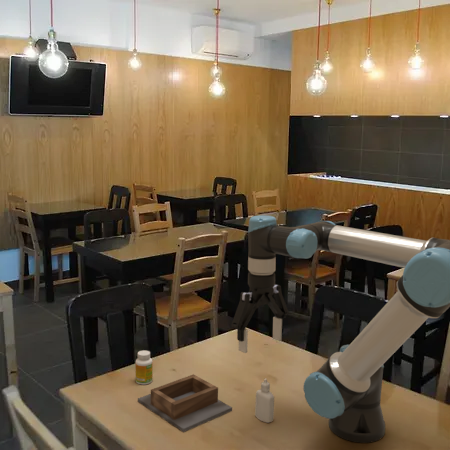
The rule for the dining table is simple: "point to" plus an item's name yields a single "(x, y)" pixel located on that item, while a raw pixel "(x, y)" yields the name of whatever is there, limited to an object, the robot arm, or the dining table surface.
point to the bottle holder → (186, 402)
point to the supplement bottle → (143, 368)
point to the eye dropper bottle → (264, 403)
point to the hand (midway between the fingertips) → (260, 345)
